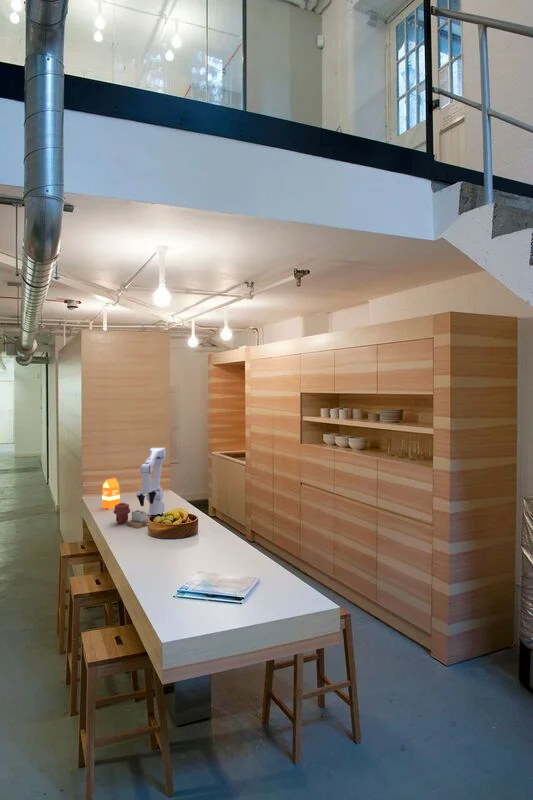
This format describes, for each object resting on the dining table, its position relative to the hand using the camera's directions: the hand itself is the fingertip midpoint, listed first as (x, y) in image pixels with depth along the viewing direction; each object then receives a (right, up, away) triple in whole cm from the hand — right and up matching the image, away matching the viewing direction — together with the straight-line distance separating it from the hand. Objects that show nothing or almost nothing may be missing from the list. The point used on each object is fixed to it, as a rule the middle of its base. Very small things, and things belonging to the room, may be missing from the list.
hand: (146, 504), depth 328 cm
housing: (-3, -8, -7) cm, 11 cm away
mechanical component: (-15, -11, -4) cm, 18 cm away
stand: (-3, -11, -7) cm, 13 cm away
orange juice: (-33, -9, +36) cm, 50 cm away
